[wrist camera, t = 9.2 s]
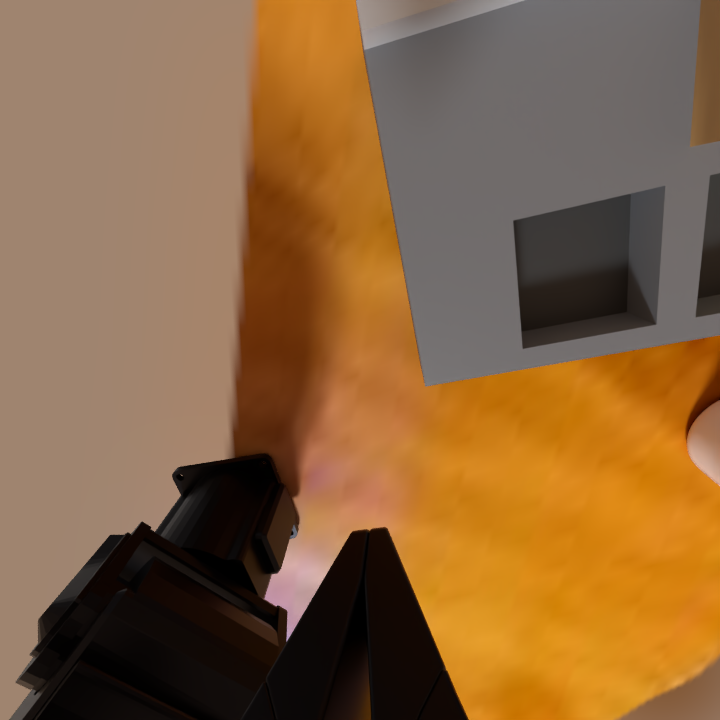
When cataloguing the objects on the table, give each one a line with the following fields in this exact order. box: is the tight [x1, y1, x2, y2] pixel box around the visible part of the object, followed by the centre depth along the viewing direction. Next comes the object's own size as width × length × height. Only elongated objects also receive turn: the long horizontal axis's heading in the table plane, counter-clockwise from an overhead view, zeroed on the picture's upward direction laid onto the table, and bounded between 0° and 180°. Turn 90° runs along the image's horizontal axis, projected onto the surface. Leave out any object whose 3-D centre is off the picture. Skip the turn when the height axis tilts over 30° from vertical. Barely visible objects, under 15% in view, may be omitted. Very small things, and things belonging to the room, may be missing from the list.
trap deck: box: [356, 0, 720, 386], centre depth 14 cm, size 18×14×4 cm
